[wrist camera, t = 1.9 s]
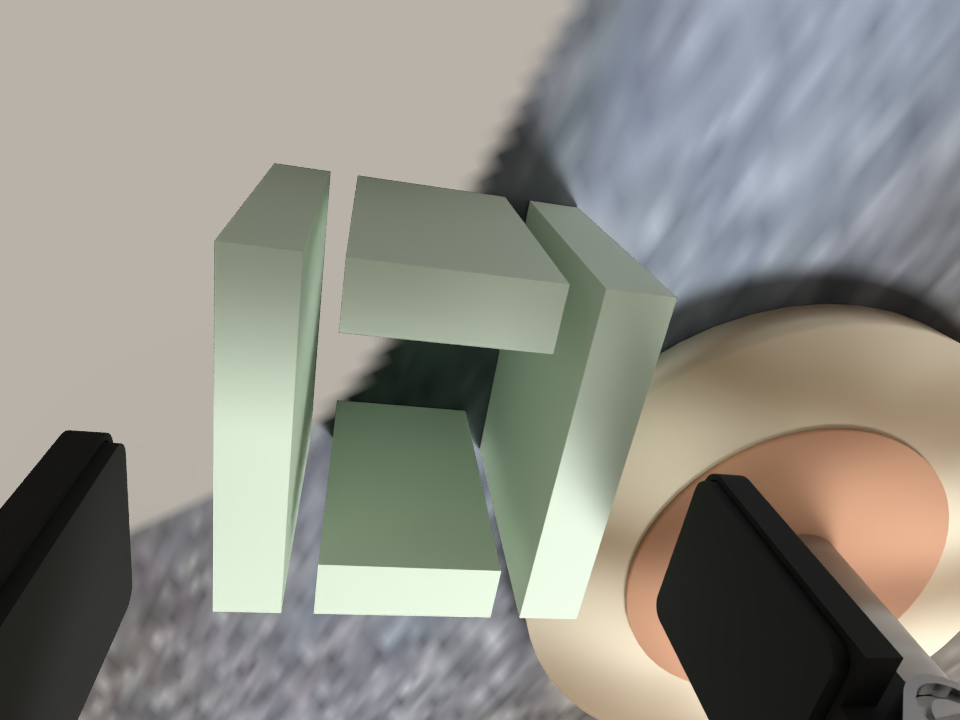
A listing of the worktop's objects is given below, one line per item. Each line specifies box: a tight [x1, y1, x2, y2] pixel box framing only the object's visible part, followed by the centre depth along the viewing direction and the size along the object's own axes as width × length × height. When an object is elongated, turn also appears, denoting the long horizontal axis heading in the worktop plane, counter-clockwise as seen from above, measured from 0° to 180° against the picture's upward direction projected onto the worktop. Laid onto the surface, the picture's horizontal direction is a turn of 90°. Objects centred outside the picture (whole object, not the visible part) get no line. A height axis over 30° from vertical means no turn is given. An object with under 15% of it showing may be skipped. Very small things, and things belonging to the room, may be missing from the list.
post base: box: [525, 303, 960, 720], centre depth 18 cm, size 16×16×8 cm
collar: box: [213, 163, 677, 619], centre depth 14 cm, size 7×7×6 cm
